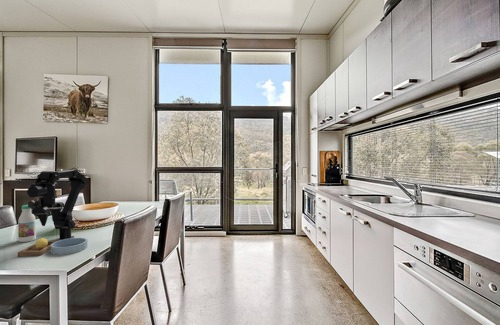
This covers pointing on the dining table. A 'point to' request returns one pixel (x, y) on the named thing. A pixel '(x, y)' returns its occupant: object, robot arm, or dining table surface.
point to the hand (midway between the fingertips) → (49, 223)
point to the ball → (41, 243)
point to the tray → (35, 250)
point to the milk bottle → (26, 225)
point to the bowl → (68, 246)
